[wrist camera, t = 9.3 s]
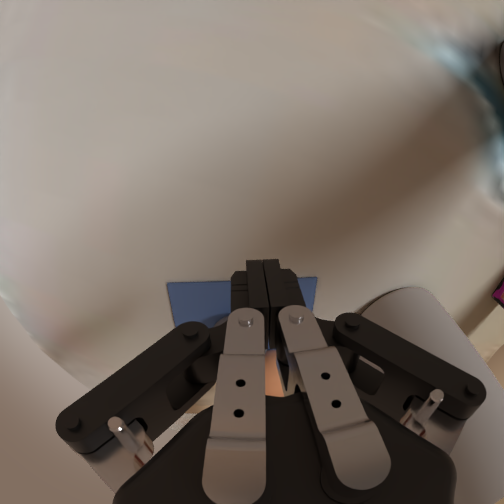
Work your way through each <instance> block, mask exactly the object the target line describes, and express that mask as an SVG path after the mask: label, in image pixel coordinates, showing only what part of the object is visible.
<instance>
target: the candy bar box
mask: <svg viewBox="0 0 504 504" xmlns="http://www.w3.org/2000/svg"><path fill="white" fill-rule="evenodd" d="M492 297H493V298H494V299H495V300H496V301H497V302H498V303H499V304H500V305H501V307H502V308H503V309H504V279H503V280H502V282H501V283H500V285H499V286H498V288H497V289H496V291H495V292H494V294H493V295H492Z"/></svg>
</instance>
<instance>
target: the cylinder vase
mask: <svg viewBox="0 0 504 504" xmlns="http://www.w3.org/2000/svg"><path fill="white" fill-rule="evenodd" d="M361 316H363V317H365V318H367V319H368V320H370V321H372V322H374V323H376V324H378V325H380V326H381V327H383V328H385V329H387V330H389V331H391V332H392V333H394V334H396V335H398V336H400V337H402V338H404V339H405V340H407V341H409V342H411V343H413V344H415V345H417V346H418V347H420V348H422V349H424V350H426V351H428V352H430V353H431V354H433V355H435V356H437V357H439V358H441V359H443V360H444V361H446V362H448V363H450V364H452V365H454V366H456V367H457V368H459V369H461V370H463V371H465V372H467V373H469V374H470V375H472V376H474V377H476V378H478V379H479V380H480V381H481V382H482V383H483V384H484V386H485V388H486V392H487V395H486V399H485V401H484V402H483V403H482V405H481V406H480V407H479V408H478V409H477V410H476V411H475V413H474V414H473V415H472V416H471V417H470V418H469V419H468V420H467V421H466V423H465V425H464V427H463V429H462V431H461V434H460V436H459V438H458V440H457V442H456V444H455V446H454V448H453V450H452V452H451V454H450V457H451V459H452V460H453V462H454V464H455V467H456V471H457V483H456V489H455V496H454V504H494V503H496V502H497V501H499V500H500V499H502V498H503V497H504V390H503V388H502V387H501V385H500V384H499V382H498V380H497V379H496V377H495V376H494V374H493V373H492V372H491V370H490V369H489V367H488V366H487V364H486V363H485V361H484V360H483V358H482V357H481V356H480V354H479V353H478V351H477V350H476V349H475V347H474V346H473V344H472V343H471V342H470V340H469V339H468V338H467V336H466V335H465V334H464V332H463V331H462V330H461V329H460V327H459V326H458V325H457V323H456V322H455V321H454V320H453V318H452V317H451V316H450V315H449V313H448V312H447V311H446V310H445V308H444V307H443V306H442V305H441V303H440V302H439V301H438V300H437V299H436V297H435V296H434V295H433V294H432V293H431V292H429V291H428V290H426V289H423V288H419V287H407V288H402V289H398V290H395V291H393V292H390V293H388V294H386V295H385V296H383V297H381V298H380V299H378V300H377V301H375V302H374V303H373V304H372V305H370V306H369V307H368V308H367V309H366V310H365V311H364V312H363V313H362V314H361ZM359 359H360V360H362V361H364V362H365V363H367V364H369V365H370V366H372V367H374V368H375V369H377V370H379V371H380V372H382V373H384V372H383V370H382V369H381V368H380V367H378V366H377V365H375V364H373V363H372V362H370V361H368V360H367V359H365V358H363V357H362V356H360V358H359Z"/></svg>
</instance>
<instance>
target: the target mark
mask: <svg viewBox="0 0 504 504" xmlns="http://www.w3.org/2000/svg"><path fill="white" fill-rule="evenodd" d="M297 279H298V283H299V286H300V289H301V292H302V295H303V298H304V301H305V304H306V308H308V309H310V310H311V311H312V310H313V304H314V297H315V290H316V283H317V277H306V278H297ZM167 287H168V292H169V297H170V302H171V307H172V312H173V317H174V322H175V326H176V327H177V326H179V325H180V324H182V323H185V322H189V321H197V322H201V323H203V324H205V325H206V326H207V327H208V328H212V327H214V325H215V324H216V323H217V322H218V321H219V320H221V319H222V318H224V317H226V316H229V315H230V313H231V281H214V282H178V283H167ZM267 350H276V349H270V348H269V340H268V349H267Z"/></svg>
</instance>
